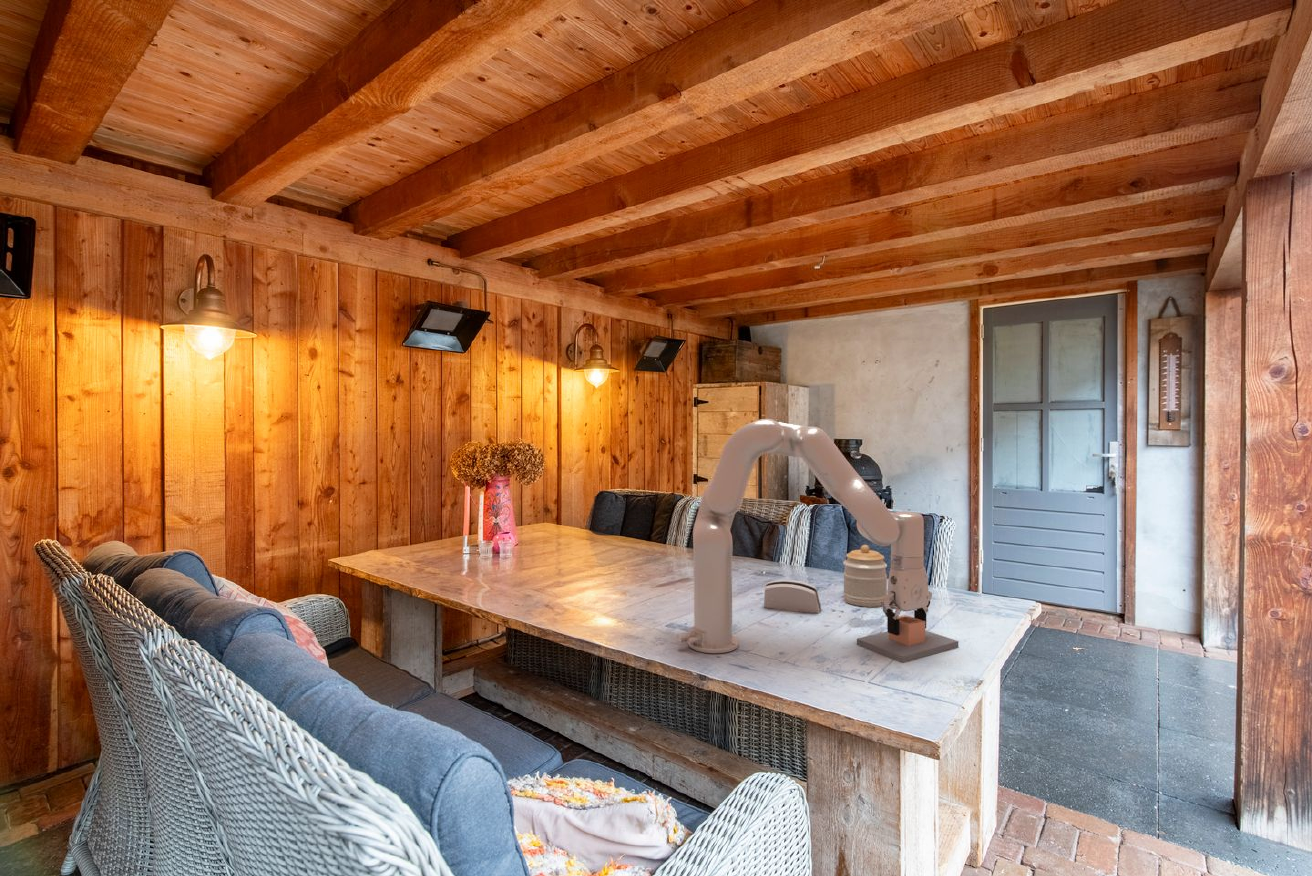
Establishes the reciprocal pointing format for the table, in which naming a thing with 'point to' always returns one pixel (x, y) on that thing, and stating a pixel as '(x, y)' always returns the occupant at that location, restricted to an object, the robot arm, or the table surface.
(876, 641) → the post plate
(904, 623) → the collar
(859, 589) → the jar
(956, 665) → the table surface
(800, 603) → the half-round card holder
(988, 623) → the table surface
